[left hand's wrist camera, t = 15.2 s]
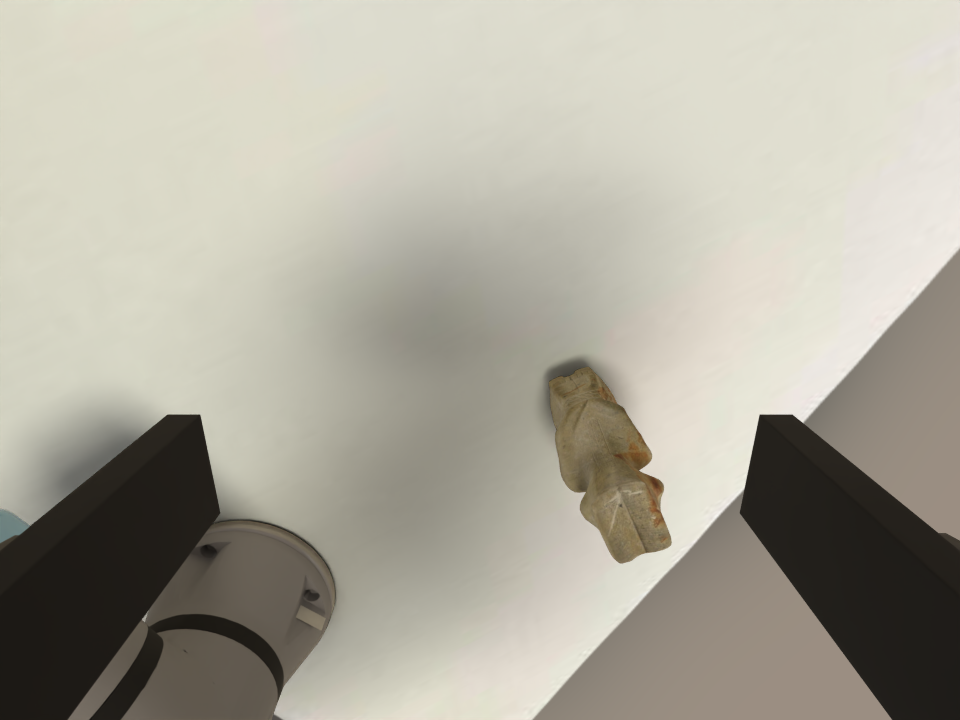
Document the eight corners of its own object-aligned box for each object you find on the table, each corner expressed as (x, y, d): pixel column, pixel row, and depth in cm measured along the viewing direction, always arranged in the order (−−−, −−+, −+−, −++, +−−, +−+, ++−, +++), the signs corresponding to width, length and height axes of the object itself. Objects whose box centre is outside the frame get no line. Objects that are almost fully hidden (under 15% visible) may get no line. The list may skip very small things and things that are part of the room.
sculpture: (557, 449, 44) (594, 584, 30) (531, 373, 42) (557, 480, 28) (626, 428, 43) (696, 556, 29) (603, 349, 41) (667, 447, 27)
